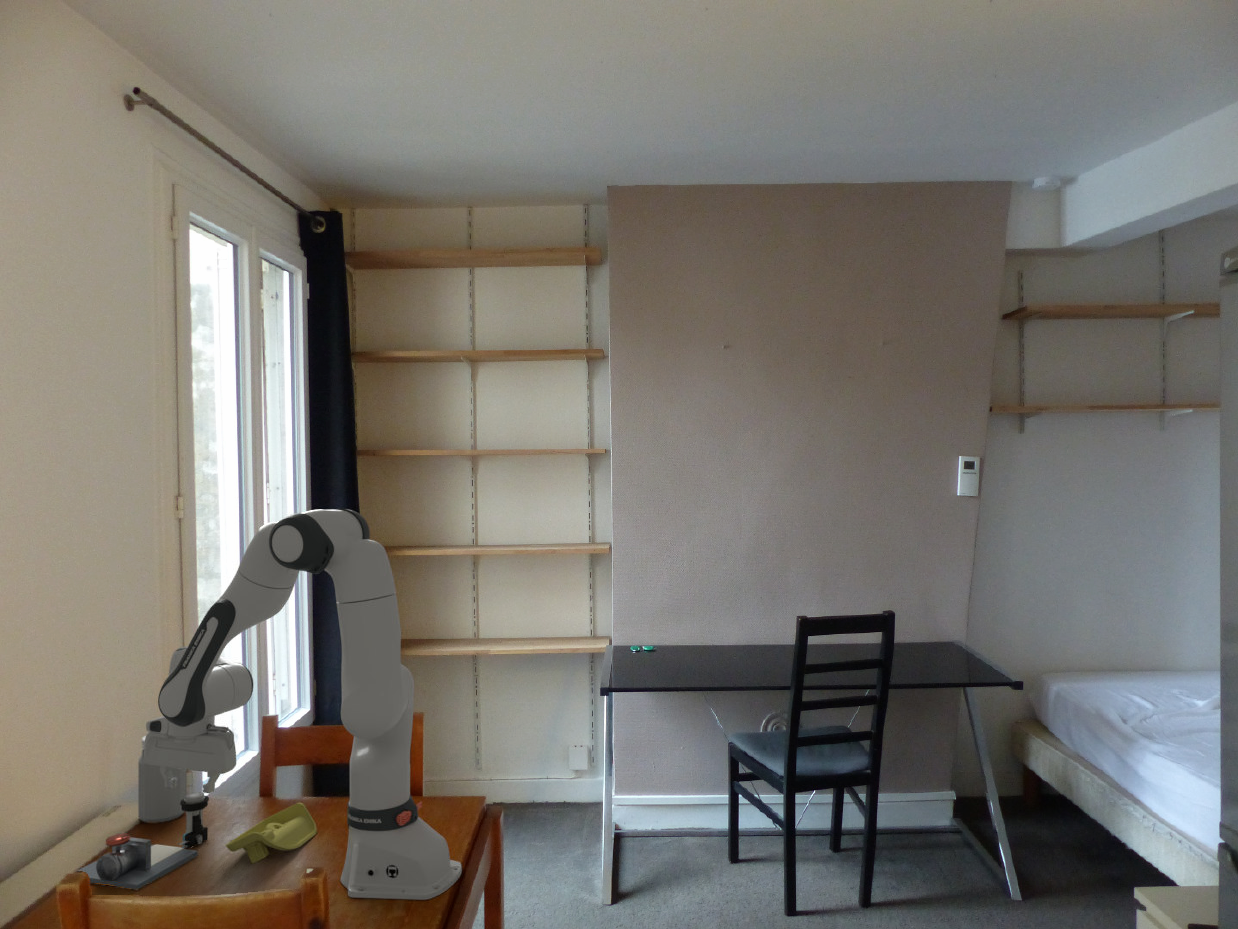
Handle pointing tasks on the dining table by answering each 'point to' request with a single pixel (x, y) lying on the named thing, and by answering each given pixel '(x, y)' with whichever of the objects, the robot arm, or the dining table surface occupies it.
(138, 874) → the board
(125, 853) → the fitting
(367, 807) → the robot arm
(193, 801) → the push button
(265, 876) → the dining table surface
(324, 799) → the dining table surface
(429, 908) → the dining table surface
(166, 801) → the jar
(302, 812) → the plastic component
